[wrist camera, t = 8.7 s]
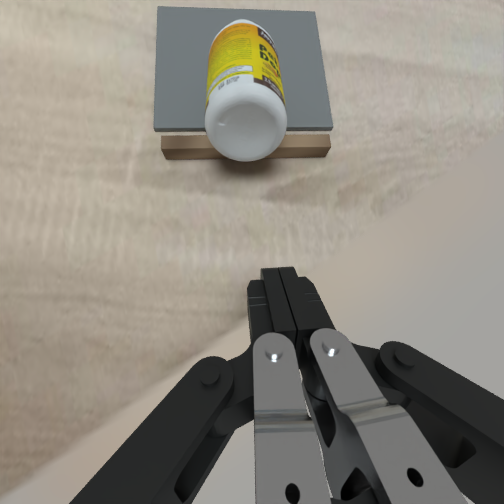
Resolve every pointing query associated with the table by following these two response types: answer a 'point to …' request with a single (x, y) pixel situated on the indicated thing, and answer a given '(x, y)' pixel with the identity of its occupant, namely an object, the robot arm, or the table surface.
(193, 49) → the mat
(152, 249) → the table surface
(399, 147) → the table surface
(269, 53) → the supplement bottle
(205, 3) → the table surface
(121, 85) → the table surface
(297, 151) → the rail
